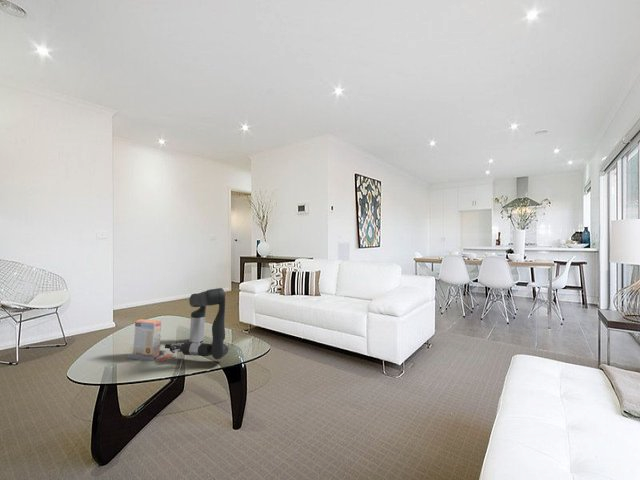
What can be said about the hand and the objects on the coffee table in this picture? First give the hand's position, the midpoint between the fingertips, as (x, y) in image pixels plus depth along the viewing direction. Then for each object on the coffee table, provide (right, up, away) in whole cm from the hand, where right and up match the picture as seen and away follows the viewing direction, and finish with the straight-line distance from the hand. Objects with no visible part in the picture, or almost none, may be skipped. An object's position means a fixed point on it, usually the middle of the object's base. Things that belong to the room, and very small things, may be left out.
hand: (165, 345), depth 177 cm
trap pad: (0, -7, 0) cm, 7 cm away
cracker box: (-12, -7, +1) cm, 14 cm away
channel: (-12, -6, +1) cm, 14 cm away
